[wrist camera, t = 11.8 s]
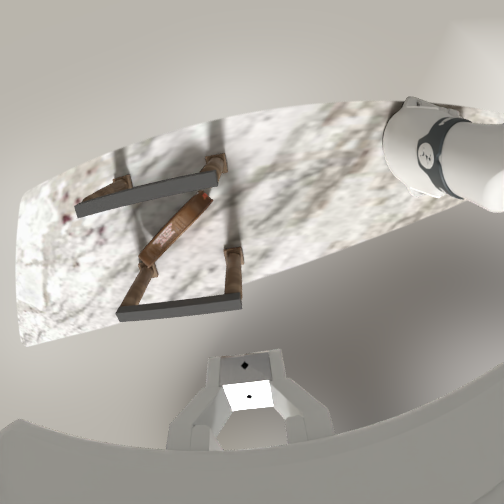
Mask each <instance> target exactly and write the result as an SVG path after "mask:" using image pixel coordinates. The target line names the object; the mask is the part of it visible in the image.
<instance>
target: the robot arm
mask: <svg viewBox="0 0 504 504" xmlns="http://www.w3.org/2000/svg"><path fill="white" fill-rule="evenodd" d="M417 104H418V106H417ZM383 152H384V157H385V160H386V163H387V165H388V167H389V169H390V171H391V172H392V174H393V175H394V176H395V177H396V178H397V179H398V180H400V181H401V182H402V183H404V184H405V185H406V187H407V189H408V191H409V193H410V194H411V195H412V196H414V197H420V196H423V195H426V194H427V195H430V196H433V197H436V198H440V196H444V195H448V196H451V197H453V198H458V199H466V200H468V201H470V202H472V203H474V204H476V205H478V206H480V207H482V208H484V209H486V210H488V211H490V212H496V213H497V212H498V213H499V212H504V123H503V124H481V123H472V122H471V121H469V120H466V119H463V117H461V116H459V111H457V110H454V109H448V110H447V108H444V107H439V106H437V105H434V104H432V103H429V102H426V101H423V100H421V99H418V98H415V97H407V98H406V100H405V102H404V104H403V107H402V108H401V109H400V110H399V111H398V112H397V113H396V114H394V115H393V116H392V118H391V119H390V120H389V122H388V124H387V126H386V128H385V132H384V137H383ZM266 406H273V407H274V408H275V409H276V410H277V411H278V413H279V414H280V415H281V416H282V417H283V418H284V419H285V425H286V432H287V442H288V444H286V445H279V446H271V447H263V448H254V449H241V450H224V449H223V448H222V446H221V445H220V443H219V442H218V440H217V438H216V437H217V435H218V434H219V432H220V431H221V429H222V427H223V426H224V425H225V423H226V421H227V420H228V418H229V417H230V415H231V413H232V412H233V411H232V410H240V409H247V408H257V407H266ZM0 504H504V362H503V363H501V364H499V365H497V366H496V367H494V368H493V369H491V370H490V371H488V372H486V373H485V374H483V375H482V376H480V377H478V378H476V379H475V380H473V381H471V382H470V383H468V384H466V385H464V386H462V387H461V388H458V389H457V390H455V391H453V392H451V393H449V394H447V395H445V396H443V397H441V398H438V399H436V400H434V401H432V402H430V403H428V404H425V405H423V406H421V407H418V408H416V409H414V410H411V411H409V412H406V413H404V414H401V415H398V416H396V417H393V418H390V419H387V420H384V421H381V422H378V423H375V424H372V425H369V426H366V427H362V428H359V429H356V430H352V431H348V432H345V433H341V434H337V435H335V432H334V428H333V425H332V421H331V417H330V414H329V410H328V408H327V407H325V406H324V405H323V404H321V403H320V402H319V401H318V400H316V399H315V398H314V397H313V396H311V395H310V394H309V393H308V392H307V391H305V390H304V389H303V388H302V387H300V386H299V385H298V384H297V383H296V382H294V381H293V380H292V379H291V378H286V373H285V367H284V362H283V356H282V351H281V349H275V350H269V352H268V351H262V352H255V353H248V354H242V355H231V356H221V357H210V358H209V359H208V368H207V378H206V388H202V389H201V390H200V391H199V392H198V393H197V394H196V396H195V397H194V398H193V399H192V400H191V401H190V402H189V403H188V404H187V406H186V407H185V408H184V409H183V410H182V411H181V412H180V413H179V414H178V416H177V417H176V418H175V419H174V420H173V421H172V422H171V423H170V426H169V432H168V439H167V445H166V450H162V449H151V448H141V447H132V446H125V445H118V444H112V443H107V442H101V441H96V440H92V439H87V438H82V437H78V436H74V435H70V434H67V433H63V432H60V431H56V430H53V429H50V428H46V427H43V426H40V425H37V424H34V423H32V422H29V421H26V420H23V419H18V420H16V421H14V422H12V423H11V424H9V425H8V426H6V427H5V428H4V429H2V430H1V431H0Z"/></svg>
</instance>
